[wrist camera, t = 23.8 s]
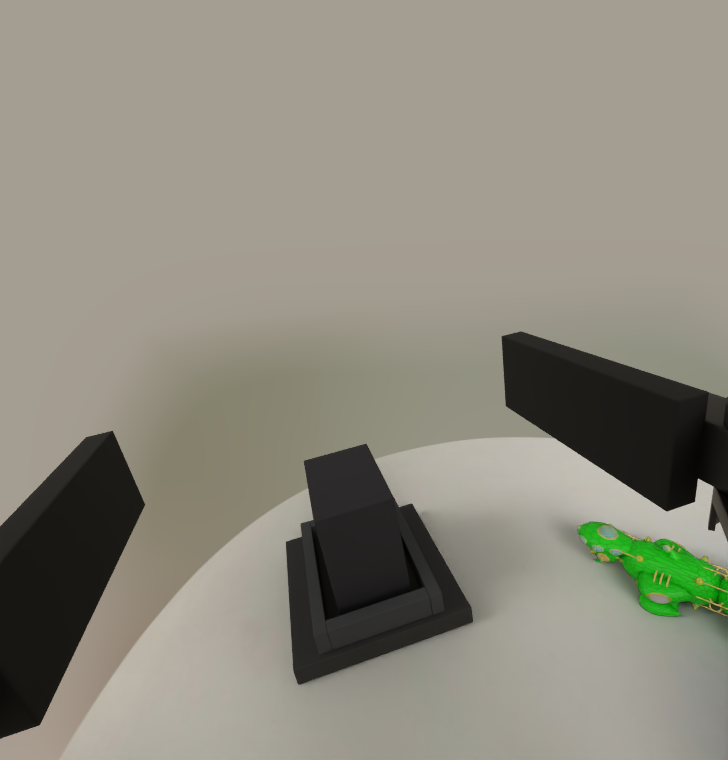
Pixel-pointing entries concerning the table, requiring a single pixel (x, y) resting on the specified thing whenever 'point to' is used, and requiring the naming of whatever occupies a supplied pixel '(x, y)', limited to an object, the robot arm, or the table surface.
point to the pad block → (357, 528)
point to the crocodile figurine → (659, 570)
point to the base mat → (375, 622)
